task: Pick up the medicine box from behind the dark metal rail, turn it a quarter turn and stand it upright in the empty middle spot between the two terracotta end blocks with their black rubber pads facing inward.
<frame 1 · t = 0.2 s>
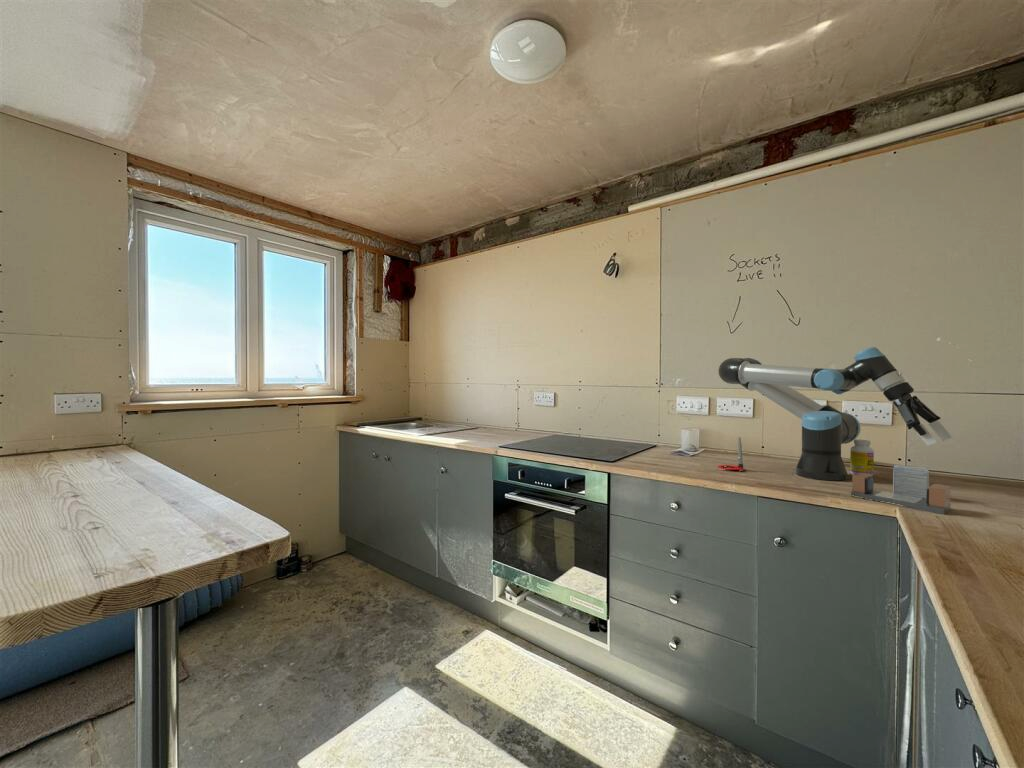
hand: (940, 441, 137), 15 cm above the countertop, tool tilted 35°, fingers open, 13 cm apart
supplement bottle: (861, 475, 156), on the countertop
rail: (898, 502, 122), on the countertop
medicine box: (910, 496, 129), on the countertop
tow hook: (729, 470, 166), on the countertop
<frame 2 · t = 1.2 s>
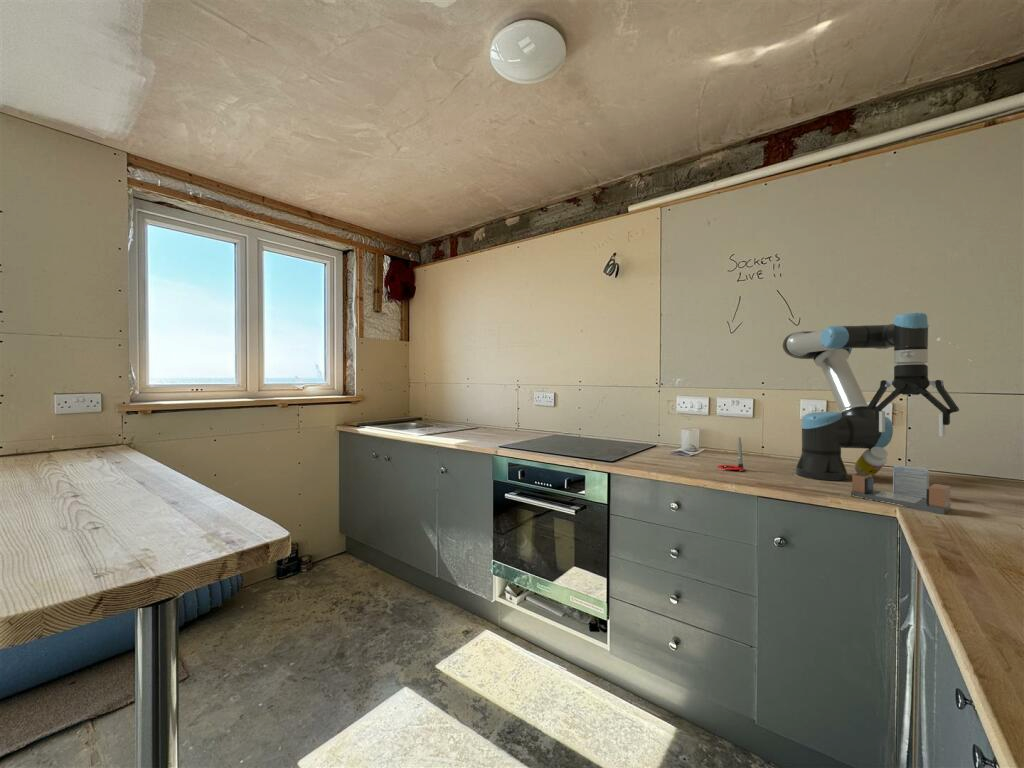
hand: (910, 433, 129), 19 cm above the countertop, tool pointing down, fingers open, 13 cm apart
supplement bottle: (863, 470, 156), point 2 cm above the countertop, touching arm
everything else where it was.
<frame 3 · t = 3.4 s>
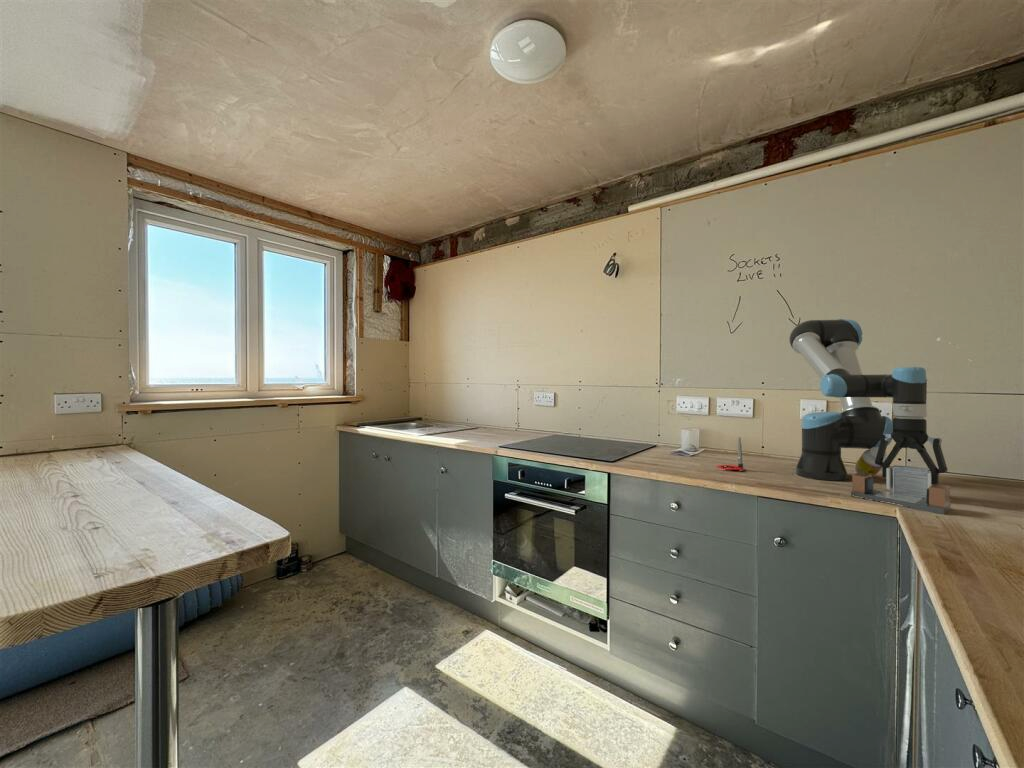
hand: (909, 491, 128), 1 cm above the countertop, tool pointing down, fingers closed on medicine box, 9 cm apart
medicine box: (910, 496, 129), on the countertop, touching gripper
everything else where it was.
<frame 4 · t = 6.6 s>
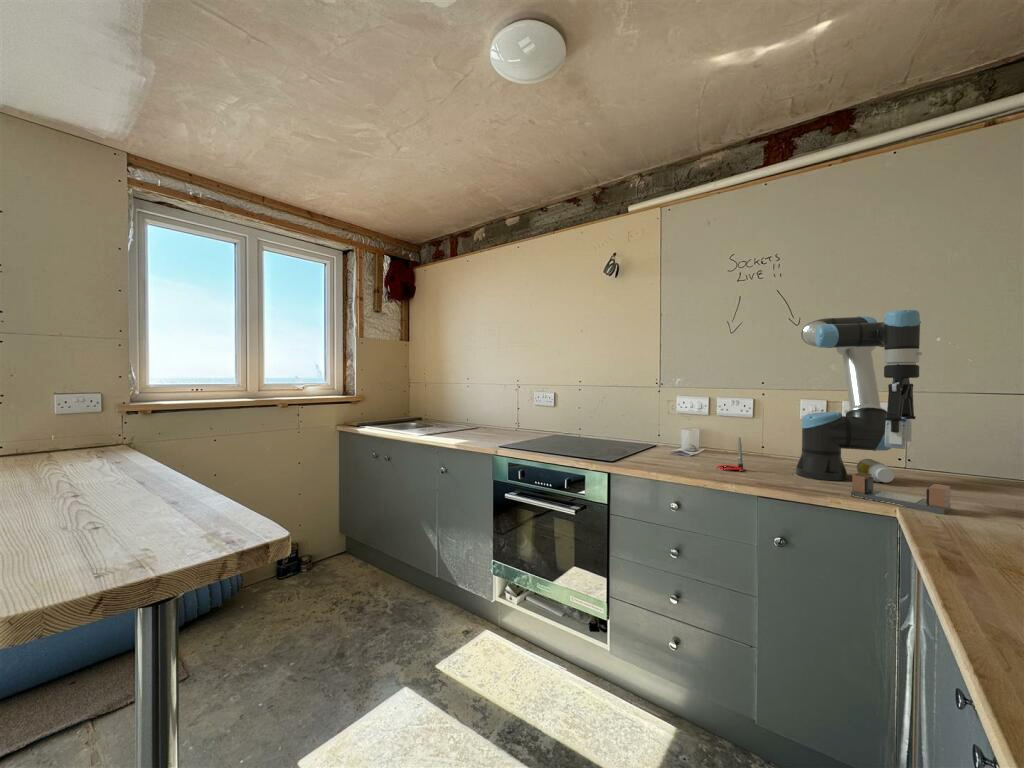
hand: (900, 442, 122), 18 cm above the countertop, tool pointing down, fingers closed on medicine box, 8 cm apart
supplement bottle: (866, 467, 154), point 3 cm above the countertop
medicine box: (894, 447, 123), point 16 cm above the countertop, touching gripper
everything else where it was.
when the fingers open (4 cm above the countertop, at t = 10.7 s): medicine box stays where it is, resting on rail.
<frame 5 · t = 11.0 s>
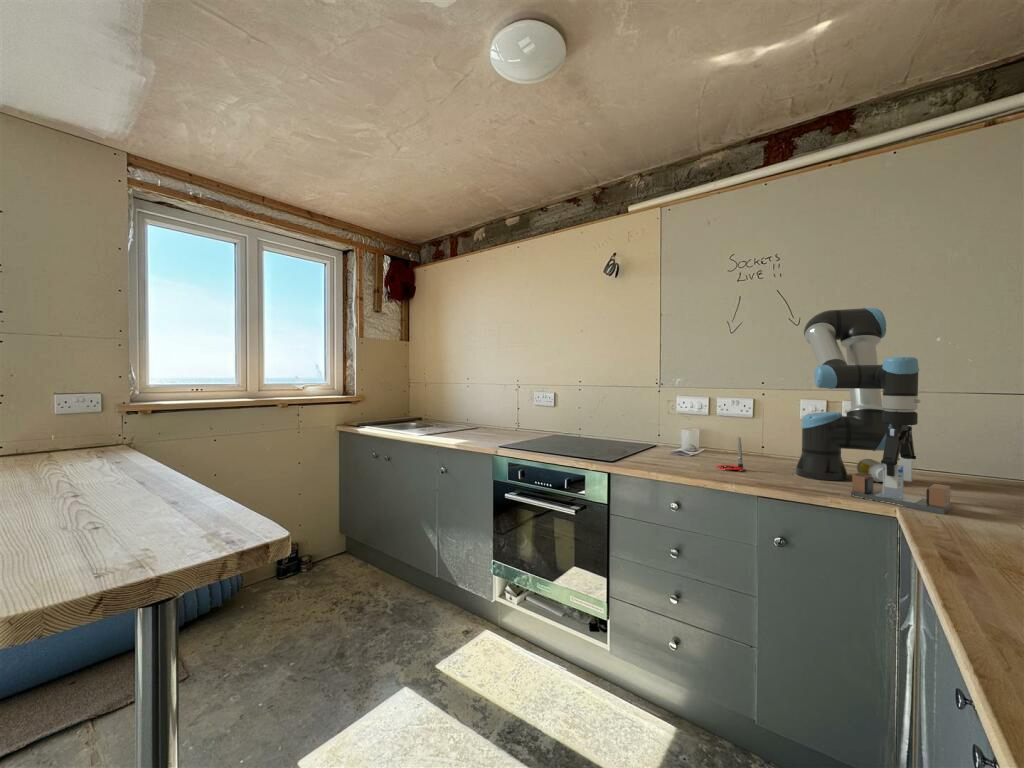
hand: (898, 484, 122), 5 cm above the countertop, tool pointing down, fingers open, 13 cm apart
medicine box: (892, 496, 123), point 1 cm above the countertop, touching rail
everything else where it was.
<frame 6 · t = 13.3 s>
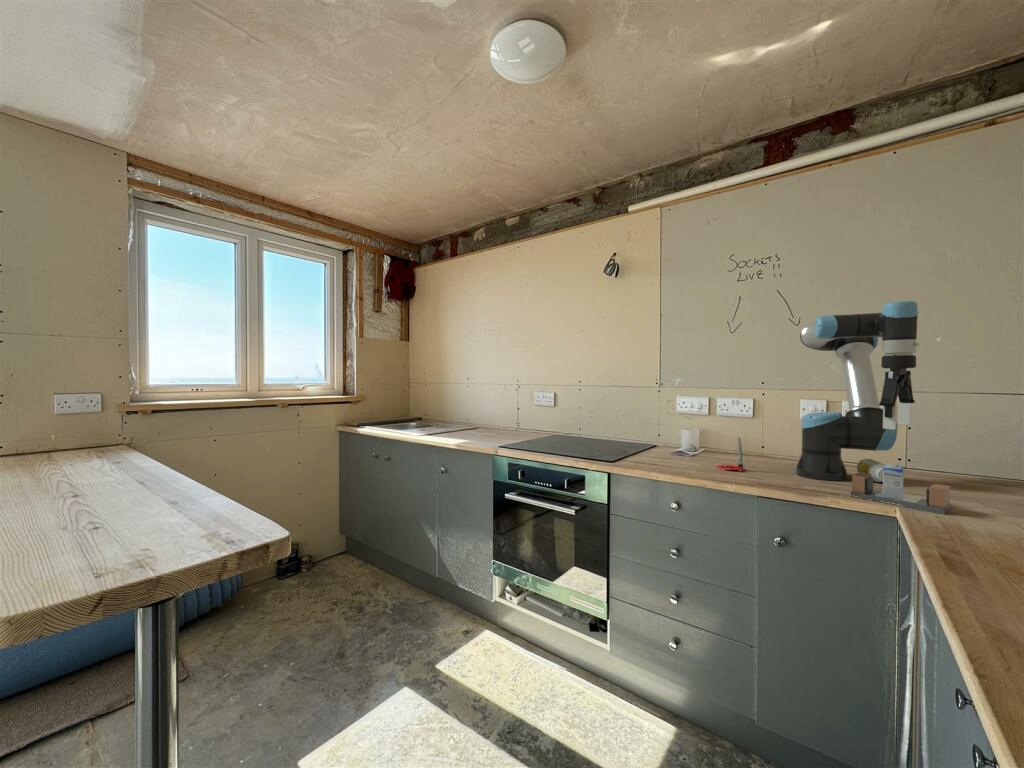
hand: (896, 426, 125), 22 cm above the countertop, tool pointing down, fingers open, 13 cm apart
nothing on the countertop moved.
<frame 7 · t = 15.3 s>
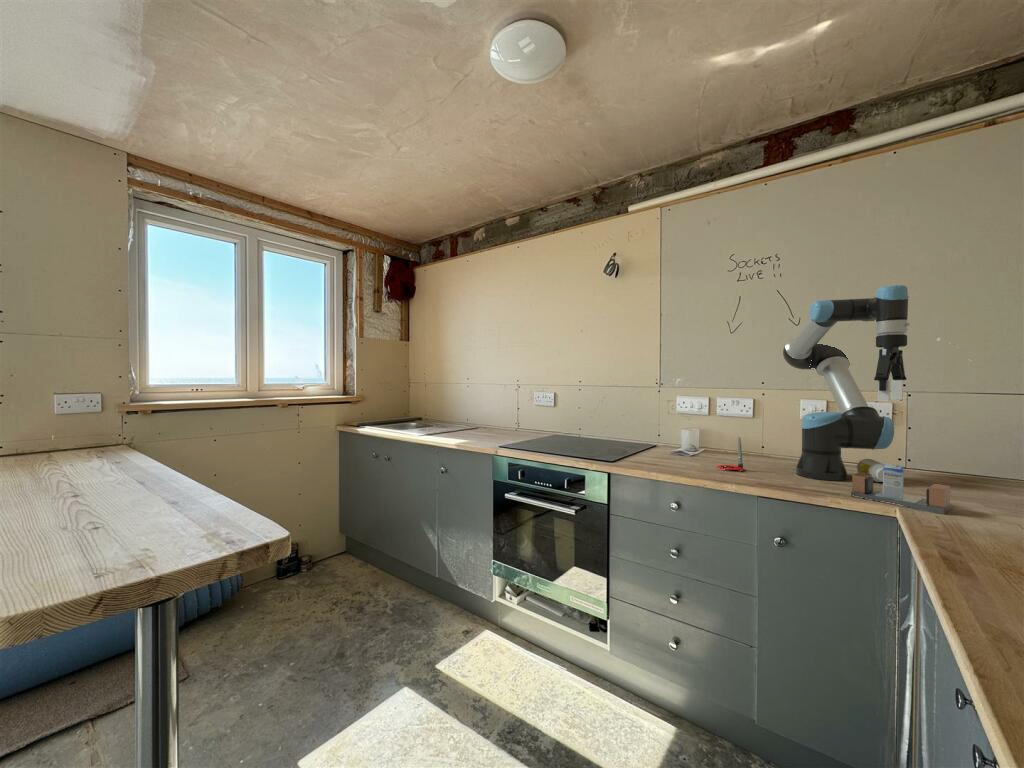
hand: (890, 400, 136), 29 cm above the countertop, tool pointing down, fingers open, 13 cm apart
nothing on the countertop moved.
at the end: medicine box 1.2 cm off-centre on the rail, point 1.5 cm above the rail's base; medicine box tilted 0°; the gripper is holding nothing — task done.
